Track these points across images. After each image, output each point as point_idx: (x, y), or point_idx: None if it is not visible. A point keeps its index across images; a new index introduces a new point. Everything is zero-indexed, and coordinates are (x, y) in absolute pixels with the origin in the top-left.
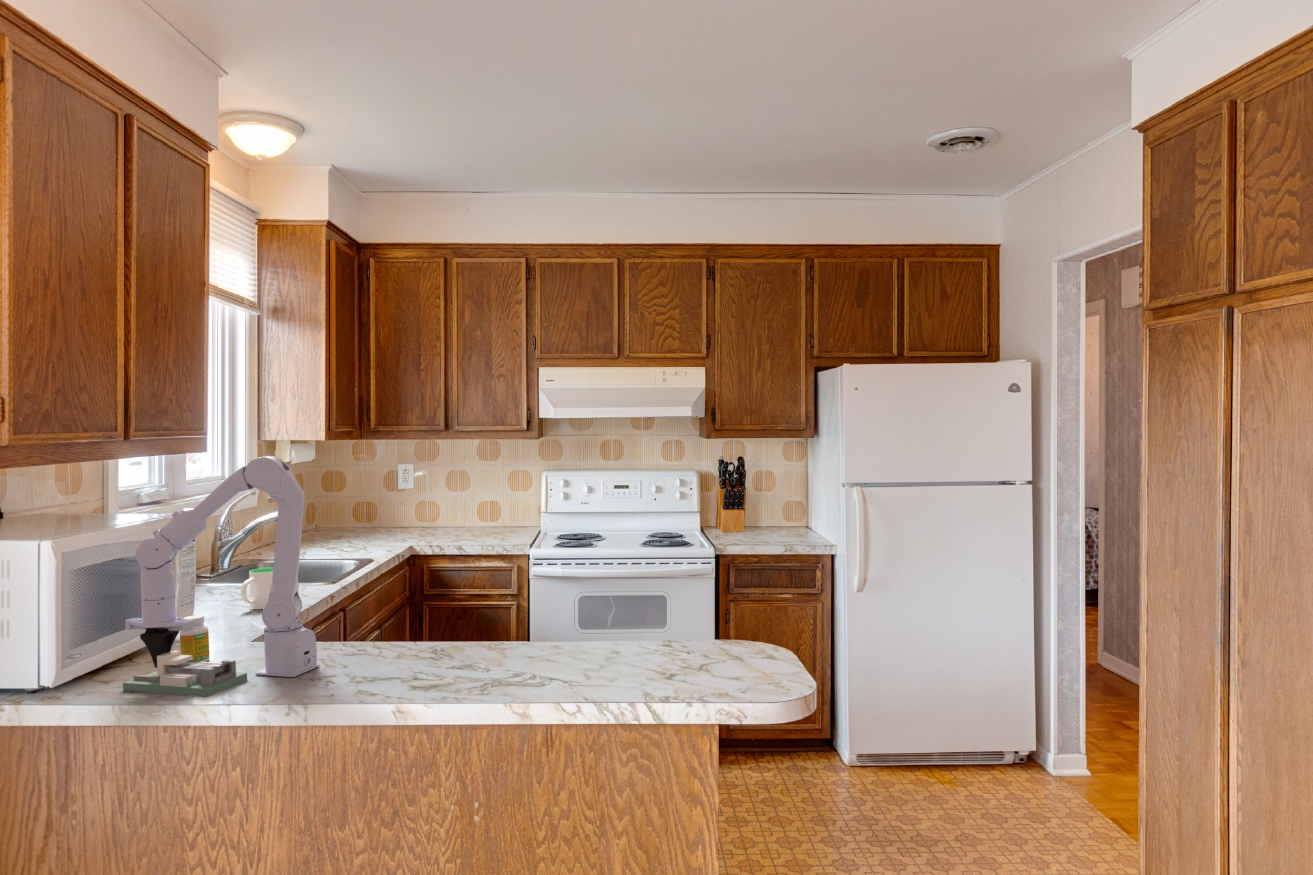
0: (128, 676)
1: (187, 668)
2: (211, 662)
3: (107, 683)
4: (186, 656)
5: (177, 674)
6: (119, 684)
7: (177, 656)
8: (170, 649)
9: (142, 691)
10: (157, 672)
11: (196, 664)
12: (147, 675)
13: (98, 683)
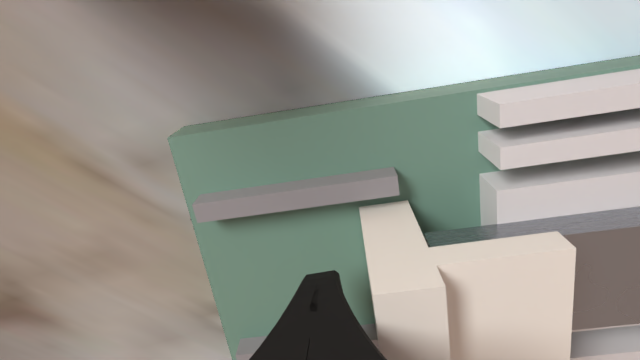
0: (3, 219)
1: (629, 322)
2: (610, 90)
3: (49, 322)
4: (543, 282)
5: (587, 357)
6: (124, 314)
7: (459, 304)
8: (364, 331)
9: None
10: (227, 229)
11: (627, 247)
12: (233, 284)
13: (9, 335)
